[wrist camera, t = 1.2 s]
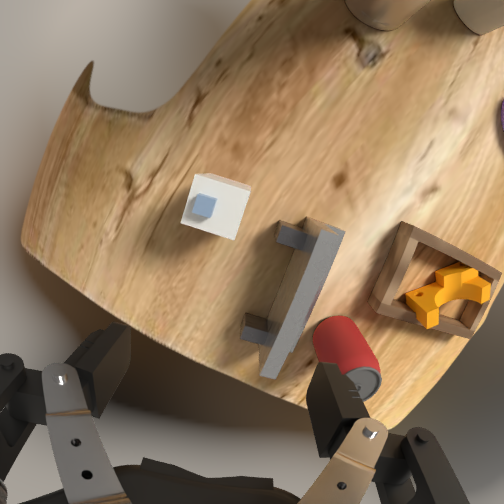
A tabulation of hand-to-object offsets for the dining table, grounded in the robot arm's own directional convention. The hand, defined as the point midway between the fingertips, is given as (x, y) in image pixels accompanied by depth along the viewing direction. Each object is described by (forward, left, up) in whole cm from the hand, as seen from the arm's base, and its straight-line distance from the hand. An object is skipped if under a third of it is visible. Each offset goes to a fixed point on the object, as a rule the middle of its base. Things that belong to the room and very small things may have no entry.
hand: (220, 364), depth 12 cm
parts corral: (-3, +30, -26) cm, 39 cm away
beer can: (+9, +17, -26) cm, 32 cm away
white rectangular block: (-4, -3, -26) cm, 26 cm away
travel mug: (-50, +24, -26) cm, 61 cm away
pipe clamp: (-3, +30, -26) cm, 39 cm away
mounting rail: (+4, +7, -26) cm, 27 cm away
